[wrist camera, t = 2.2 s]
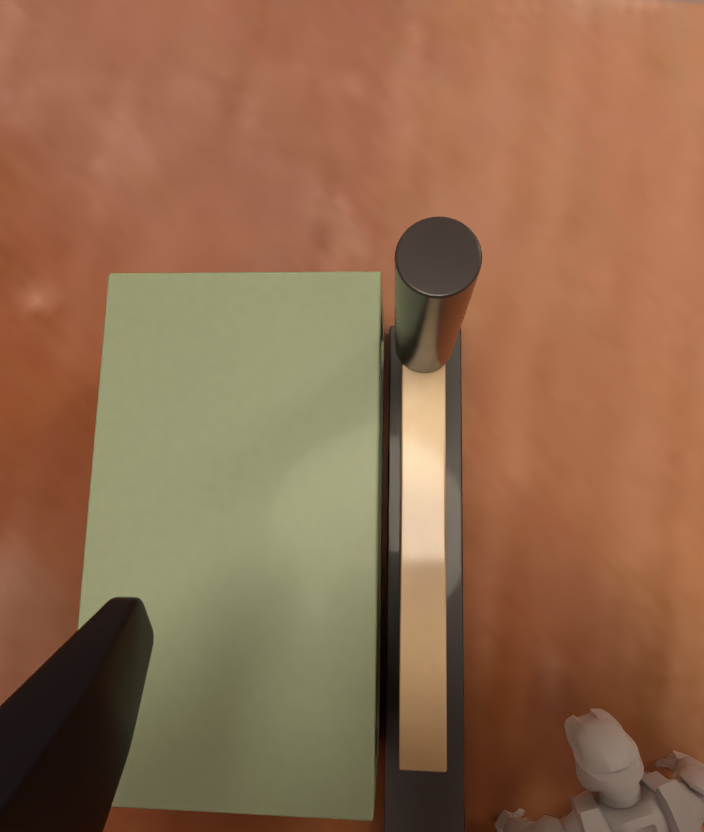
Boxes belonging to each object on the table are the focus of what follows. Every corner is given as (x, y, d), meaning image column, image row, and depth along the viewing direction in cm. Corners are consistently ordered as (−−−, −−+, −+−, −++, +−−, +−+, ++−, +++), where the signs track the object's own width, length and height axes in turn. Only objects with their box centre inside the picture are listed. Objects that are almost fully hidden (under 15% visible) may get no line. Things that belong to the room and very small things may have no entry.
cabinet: (463, 954, 19) (490, 1124, 14) (132, 931, 20) (36, 1084, 15) (459, 329, 23) (479, 269, 17) (174, 329, 23) (108, 272, 18)
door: (442, 720, 20) (491, 928, 10) (391, 717, 20) (387, 921, 10) (441, 350, 22) (481, 204, 12) (395, 350, 22) (395, 205, 12)
